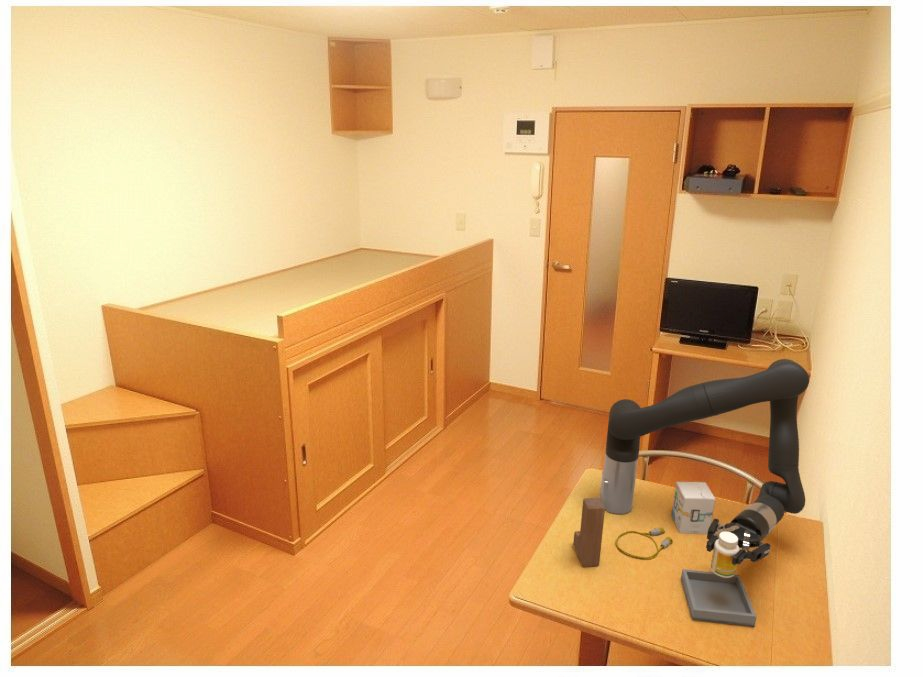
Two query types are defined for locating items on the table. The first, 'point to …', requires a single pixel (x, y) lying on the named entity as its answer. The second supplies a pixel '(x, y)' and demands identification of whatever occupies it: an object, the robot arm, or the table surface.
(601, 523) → the wooden block
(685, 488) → the ink box
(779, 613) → the table surface
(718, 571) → the supplement bottle
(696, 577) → the tray
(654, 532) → the extension cord
